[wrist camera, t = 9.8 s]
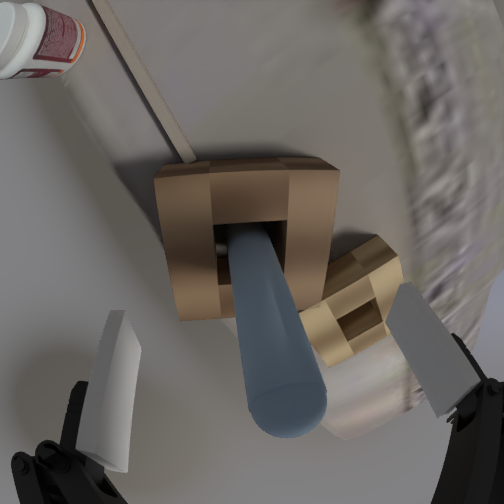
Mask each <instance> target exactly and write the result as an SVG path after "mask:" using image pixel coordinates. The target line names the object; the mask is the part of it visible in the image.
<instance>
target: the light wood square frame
mask: <svg viewBox="0 0 504 504" xmlns="http://www.w3.org/2000/svg"><path fill="white" fill-rule="evenodd" d="M400 284H404V280H403V275H402V270H401V265H400V261H399V257H398V255H397V254H396V253H395V252H394V251H393V250H392V249H391V248H390V247H389V245H388V244H387V243H386V242H385V241H384V240H383V239H382V238H380V237H379V236H378V235H377V236H375V237H374V238H372V239H370V240H369V241H367V242H365V243H364V244H362V245H360V246H359V247H357V248H355V249H354V250H352V251H350V252H349V253H347V254H345V255H343V256H342V257H340V258H338V259H337V260H335V261H333V262H331V263H330V264H328V266H327V272H326V278H325V283H324V289H323V294H322V299H321V302H319V303H317V304H315V305H314V306H312V307H314V308H312V307H310V308H308V309H306V310H299V311H298V313H299V316H300V318H301V321H302V324H303V326H304V329H305V332H306V334H307V337H308V340H309V342H310V343H311V344H312V346H313V347H314V348H315V350H316V351H317V352H318V354H319V355H320V356H321V358H322V359H323V360H324V362H325V363H326V364H327V366H328V367H329V368H330V367H332V366H334V365H336V364H338V363H340V362H342V361H344V360H346V359H348V358H350V357H352V356H353V355H355V354H357V353H359V352H361V351H363V350H364V349H366V348H368V347H370V346H371V345H373V344H375V343H377V342H378V341H380V340H382V339H383V338H385V337H387V336H388V335H390V334H392V333H391V332H390V330H389V328H388V327H387V325H386V324H385V321H386V318H387V316H388V313H389V311H390V308H391V306H392V304H393V301H394V298H395V296H396V293H397V291H398V288H399V285H400ZM319 304H320V305H319ZM317 306H318V307H317Z"/></svg>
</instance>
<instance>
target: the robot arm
mask: <svg viewBox="0 0 504 504" xmlns="http://www.w3.org/2000/svg"><path fill="white" fill-rule="evenodd" d="M385 324H386V325H387V327H388V328H389V330H390V332H391V333H392V335H393V337H394V339H395V340H396V342H397V344H398V345H399V347H400V349H401V351H402V352H403V354H404V356H405V358H406V359H407V361H408V363H409V365H410V366H411V368H412V370H413V372H414V374H415V376H416V377H417V379H418V381H419V383H420V385H421V387H422V389H423V391H424V392H425V394H426V396H427V398H428V400H429V402H430V404H431V406H432V408H433V410H434V412H435V414H436V416H437V418H438V419H439V418H441V417H442V416H444V415H446V414H448V413H449V412H450V411H452V410H453V409H454V408H455V407H456V408H457V410H456V411H455V412H454V413H453V414H452V415H451V416H450V417H449V418H448V419H447V423H448V422H449V421H451V420H452V419H453V418H454V419H453V420H452V422H451V424H453V426H452V431H451V436H450V440H449V445H448V450H447V454H446V457H445V461H444V465H443V468H442V472H441V475H440V478H439V481H438V484H437V487H436V490H435V493H434V496H433V499H432V501H431V504H504V382H498V381H497V380H496V379H494V378H489V379H488V378H487V377H486V376H485V374H484V373H483V371H482V370H481V368H480V367H479V365H478V363H477V362H476V360H475V359H474V357H473V356H472V355H471V353H470V351H469V350H468V348H466V345H465V344H464V343H463V341H462V340H461V339H460V338H459V337H458V336H457V335H455V334H454V333H452V334H450V333H449V331H448V330H447V328H446V327H445V326H444V324H443V323H442V322H441V320H440V319H439V318H438V316H437V315H436V314H435V312H434V311H433V310H432V308H431V307H430V306H429V304H428V303H427V302H426V301H425V299H424V298H423V297H422V295H421V294H420V293H419V292H418V290H417V289H416V288H415V287H414V285H413V284H412V283H411V282H410V283H404V284H400V285H399V288H398V291H397V293H396V296H395V298H394V301H393V304H392V306H391V308H390V311H389V313H388V316H387V318H386V321H385ZM140 356H141V347H140V344H139V342H138V340H137V338H136V335H135V333H134V331H133V328H132V326H131V324H130V321H129V319H128V316H127V314H126V311H125V310H116V311H115V310H113V311H110V313H109V315H108V319H107V322H106V324H105V328H104V331H103V334H102V337H101V340H100V343H99V347H98V350H97V354H96V357H95V361H94V364H93V368H92V372H91V375H90V379H89V382H86V381H78V382H77V383H76V385H75V386H74V388H73V389H72V391H71V395H70V399H69V404H68V407H67V413H66V415H65V420H64V425H63V430H62V435H61V440H60V444H57V443H55V442H54V441H51V440H45V441H43V442H41V443H40V444H39V445H38V446H37V448H36V451H35V456H30V455H28V454H26V453H25V452H17V453H15V454H14V456H13V457H12V461H11V468H12V473H13V477H14V482H15V486H16V490H17V494H18V498H19V501H20V504H128V503H127V502H126V501H125V500H124V498H123V497H122V496H121V495H120V493H119V492H118V491H117V489H116V488H115V487H114V485H113V484H112V483H111V481H110V480H109V478H108V477H107V476H106V474H105V473H104V467H105V468H107V469H109V470H112V471H117V472H124V473H128V459H129V458H128V457H129V444H130V431H131V422H132V412H133V403H134V396H135V388H136V381H137V374H138V367H139V361H140Z"/></svg>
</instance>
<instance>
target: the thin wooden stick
mask: <svg viewBox="0 0 504 504" xmlns="http://www.w3.org/2000/svg"><path fill="white" fill-rule="evenodd" d="M92 2H93V4H94V5H95V7H96V9H97V11H98V13H99V15H100V16H101V18H102V20H103V22H104V24H105V25H106V27H107V29H108V31H109V33H110V34H111V36H112V38H113V40H114V42H115V43H116V45H117V47H118V49H119V51H120V52H121V54H122V56H123V58H124V59H125V61H126V63H127V65H128V66H129V68H130V70H131V72H132V73H133V75H134V77H135V79H136V81H137V82H138V84H139V86H140V88H141V89H142V91H143V93H144V94H145V96H146V98H147V100H148V101H149V103H150V105H151V107H152V108H153V110H154V112H155V114H156V115H157V117H158V119H159V120H160V122H161V124H162V126H163V127H164V129H165V131H166V132H167V134H168V136H169V138H170V139H171V141H172V143H173V144H174V146H175V148H176V150H177V151H178V153H179V155H180V156H181V158H182V160H183V161H184V163H185V164H189V163H191V162H193V161H195V160H196V159H197V158H196V156H195V154H194V152H193V151H192V149H191V147H190V146H189V144H188V142H187V140H186V139H185V137H184V135H183V133H182V132H181V130H180V128H179V126H178V125H177V123H176V121H175V119H174V118H173V116H172V114H171V112H170V111H169V109H168V107H167V105H166V104H165V102H164V100H163V98H162V97H161V95H160V93H159V91H158V90H157V88H156V86H155V84H154V83H153V81H152V79H151V77H150V76H149V74H148V72H147V70H146V69H145V67H144V65H143V63H142V62H141V60H140V58H139V56H138V55H137V53H136V51H135V49H134V48H133V46H132V44H131V42H130V41H129V39H128V37H127V35H126V34H125V32H124V30H123V28H122V27H121V25H120V23H119V21H118V20H117V18H116V16H115V14H114V13H113V11H112V9H111V7H110V6H109V4H108V2H107V0H92Z"/></svg>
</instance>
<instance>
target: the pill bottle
mask: <svg viewBox="0 0 504 504" xmlns="http://www.w3.org/2000/svg"><path fill="white" fill-rule="evenodd" d="M85 42H86V32H85V29H84V26H83V25H82V24H81V23H80V22H79V21H78V20H76V19H73V18H71V17H69V16H66V15H64V14H62V13H59V12H57V11H54V10H52V9H49V8H47V7H44V6H42V5H40V4H37V3H25V4H21V5H20V4H16V3H11V2H2V3H0V79H1V80H2V79H13V78H35V77H36V78H39V77H43V78H44V77H56V76H59V75H61V74H63V73H64V72H66V71H67V70H69V69H70V68H71V67H72V66H73V65H74V64H75V63H76V62H77V60H78V59H79V57H80V55H81V54H82V51H83V49H84V46H85Z"/></svg>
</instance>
